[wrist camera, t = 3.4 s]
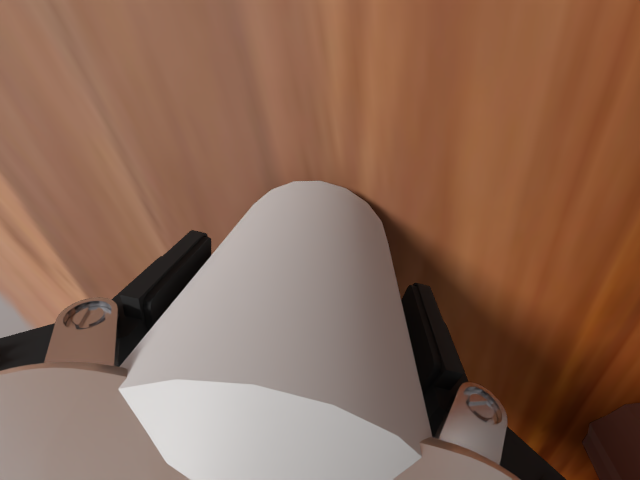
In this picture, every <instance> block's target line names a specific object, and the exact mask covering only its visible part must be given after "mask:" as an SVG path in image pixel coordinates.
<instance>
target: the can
mask: <svg viewBox="0 0 640 480" xmlns="http://www.w3.org/2000/svg"><path fill="white" fill-rule="evenodd" d="M120 367H123V368H127V371H128V373H127V378H126V379H125V381H124V382H123V383H122V385H121V386H120V387H119V388H118V389H119V391H120V393H121V394H122V396H123V397H124V399H125V400H126V402H127V403H128V405H129V406H130V408H131V409H132V411H133V412H134V414H135V415H136V417H137V418H138V420H139V421H140V423H141V424H142V426H143V427H144V429H145V430H146V432H147V433H148V435H149V436H150V438H151V440H152V441H153V443H154V444H155V446H156V447H157V449H158V450H159V452H160V454H161V455H162V457H163V458H164V460H165V461H166V463H167V464H168V465H170V466H171V467H173V468H174V469H176V470H177V471H179V472H180V473H182V474H183V475H184V476H186V477H187V478H189V479H190V480H393V479H394V478H395V477H397V476H398V475H399V474H401V473H402V472H403V471H405V470H406V469H407V468H409V467H410V466H411V465H412V464H414V463H415V462H416V461H418V460H419V459H420V458H421V457H422V454H421V449H420V444H419V442H421V441H422V440H424V439H426V438H429V437H432V433H431V429H430V424H429V420H428V416H427V411H426V407H425V403H424V398H423V394H422V389H421V385H420V381H419V376H418V372H417V368H416V363H415V359H414V354H413V350H412V346H411V341H410V337H409V333H408V328H407V324H406V319H405V315H404V311H403V306H402V302H401V298H400V293H399V289H398V284H397V280H396V276H395V271H394V267H393V263H392V258H391V254H390V249H389V245H388V241H387V238H386V234H385V231H384V228H383V225H382V221H381V220H380V219H379V218H378V216H377V215H376V214H375V212H374V211H373V210H372V208H371V207H370V206H369V204H368V203H367V202H366V201H364V200H363V199H361V198H360V197H358V196H357V195H355V194H354V193H352V192H351V191H349V190H348V189H346V188H343V187H340V186H336V185H333V184H329V183H326V182H323V181H294V182H291V183H289V184H286V185H283V186H280V187H277V188H275V189H272V190H270V191H269V192H268V193H267V194H265V195H264V196H263V197H262V198H261V199H259V200H258V201H257V202H256V203H255V204H253V206H252V207H251V208H250V209H249V211H248V212H247V213H246V214H245V215H244V217H243V218H242V219H241V220H240V221H239V223H238V224H237V225H236V226H235V227H234V229H233V230H232V231H231V232H230V234H229V235H228V236H227V237H226V238H225V240H224V241H223V242H222V243H221V244H220V246H219V247H218V248H217V249H216V250H215V252H214V253H213V254H212V255H211V257H210V258H209V259H208V260H207V261H206V263H205V264H204V265H203V266H202V267H201V269H200V270H199V271H198V272H197V273H196V275H195V276H194V277H193V278H192V280H191V281H190V282H189V283H188V284H187V286H186V287H185V288H184V289H183V290H182V292H181V293H180V294H179V295H178V296H177V298H176V299H175V300H174V301H173V303H172V304H171V305H170V306H169V307H168V309H167V310H166V311H165V312H164V313H163V315H162V316H161V317H160V318H159V319H158V321H157V322H156V323H155V324H154V326H153V327H152V328H151V329H150V330H149V332H148V333H147V334H146V335H145V336H144V338H143V339H142V340H141V341H140V342H139V344H138V345H137V346H136V347H135V349H134V350H133V351H132V352H131V353H130V355H129V356H128V357H127V358H126V359H125V361H124V362H123V363H122V364H121V365H120Z"/></svg>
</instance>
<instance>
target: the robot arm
mask: <svg viewBox="0 0 640 480" xmlns="http://www.w3.org/2000/svg"><path fill="white" fill-rule="evenodd" d="M210 257H211V238H209V237H208V236H207V234H206V233H202V232H198V231H194V230H191V231H190V232H189V233H188V234H187V235H185V236H184V237H183V238H182V239H181V240H180V241H179V242H178V243H177V244H176V245H174V246H173V247H172V248H171V249H170V250H169V251H168V252H167V253H166V254H164V255H163V256H161V257H159V258H158V259H157V260H156V261H154V262H153V263H152V264H151V265H150V266H149V267H148V268H147V269H145V270H144V271H143V272H142V273H141V274H140V275H139V276H138V277H137V278H135V279H134V280H133V281H132V282H131V283H130V284H129V285H128V286H126V287H125V288H124V289H123V290H122V291H121V292H120V293H119V294H117V295H116V296H115V297H114V298H113V299H112V300H111V299H108V298H102V297H97V298H89V299H84V300H81V301H78V302H76V303H74V304H72V305H70V306H68V307H67V308H65V309H64V310H63V311H62V312H61V313H60V314H59V315H58V317H57V319H56V322H55V323H54V324H51V325H47V326H44V327H40V328H36V329H33V330H29V331H26V332H22V333H18V334H15V335H11V336H8V337H4V338H0V480H190V479H189V478H187V477H186V476H184V475H183V474H182V473H180V472H179V471H177V470H176V469H174V468H173V467H171V466H170V465H168V464H167V463H166V461H165V460H164V458H163V457H162V455H161V454H160V452H159V450H158V449H157V447H156V446H155V444H154V443H153V441H152V440H151V438H150V436H149V435H148V433H147V432H146V430H145V429H144V427H143V426H142V424H141V423H140V421H139V420H138V418H137V417H136V415H135V414H134V412H133V411H132V409H131V408H130V406H129V405H128V403H127V402H126V400H125V399H124V397H123V396H122V394H121V393H120V391H119V389H118V388H119V387H120V386H121V385H122V383H123V382H124V381H125V379H126V378H127V373H128V371H127V368H123V367H120V365H121V364H122V363H123V362H124V361H125V359H126V358H127V357H128V356H129V355H130V353H131V352H132V351H133V350H134V349H135V347H136V346H137V345H138V344H139V342H140V341H141V340H142V339H143V338H144V336H145V335H146V334H147V333H148V332H149V330H150V329H151V328H152V327H153V326H154V324H155V323H156V322H157V321H158V319H159V318H160V317H161V316H162V315H163V313H164V312H165V311H166V310H167V309H168V307H169V306H170V305H171V304H172V303H173V301H174V300H175V299H176V298H177V296H178V295H179V294H180V293H181V292H182V290H183V289H184V288H185V287H186V286H187V284H188V283H189V282H190V281H191V280H192V278H193V277H194V276H195V275H196V273H197V272H198V271H199V270H200V269H201V267H202V266H203V265H204V264H205V263H206V261H207V260H208V259H209V258H210ZM401 302H402V306H403V311H404V315H405V319H406V324H407V328H408V333H409V337H410V341H411V346H412V350H413V354H414V359H415V363H416V368H417V372H418V376H419V381H420V385H421V389H422V394H423V398H424V403H425V407H426V411H427V416H428V420H429V424H430V429H431V433H432V437H429V438H426V439H424V440H422V441H421V442H419V444H420V449H421V454H422V457H421V458H420V459H419V460H418V461H416V462H415V463H414V464H412V465H411V466H410V467H409V468H407V469H406V470H405V471H403V472H402V473H401V474H399V475H398V476H397V477H395V478H394V479H393V480H566V479H565V478H564V477H563V476H562V475H561V474H559V473H558V472H557V471H556V470H555V469H554V468H553V467H552V466H551V465H549V464H548V463H547V462H546V461H545V460H544V459H543V458H542V457H540V456H539V455H538V454H537V453H536V452H535V451H534V450H533V449H532V448H530V447H529V446H528V445H527V444H526V443H525V442H524V441H523V440H522V439H520V438H519V437H518V436H517V435H516V434H515V433H514V432H513V431H512V430H510V429H509V428H508V427H507V414H506V412H505V409H504V407H503V406H502V404H501V402H500V401H499V400H498V399H497V398H496V396H495V395H494V394H493V393H491V392H490V391H489V390H488V389H486V388H485V387H483V386H481V385H479V384H476V383H474V382H468V379H467V377H466V374H465V371H464V369H463V366H462V364H461V361H460V359H459V356H458V354H457V351H456V349H455V346H454V343H453V341H452V338H451V336H450V333H449V331H448V328H447V326H446V324H445V323H444V321H443V319H442V316H441V314H440V311H439V309H438V306H437V303H436V301H435V298H434V296H433V293H432V291H431V288H430V286H427V285H423V284H419V283H414V284H413V286H412V285H409V286H408V288H407V290H406V292H405V294H404V296H403V298H402V300H401Z"/></svg>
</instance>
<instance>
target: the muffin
mask: <svg viewBox="0 0 640 480" xmlns="http://www.w3.org/2000/svg"><path fill="white" fill-rule="evenodd" d="M582 443H583V445H584V447H585V450H586V452H587V454H588V456H589V458H590V460H591V462H592V464H593V466H594V469H595V471H596V473H597V475H598V477H599V479H600V480H640V403H634V404H626V405H623V406H622V407H620V408H618V409H617V410H615V411H613V412H612V413H610V414H608V415H606V416H604V417H602V418H600V419H598V420H595V421H593V422H591V423H590V424H589V429H588V433H587V435H586V437H585V438H584V440H583V441H582Z"/></svg>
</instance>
